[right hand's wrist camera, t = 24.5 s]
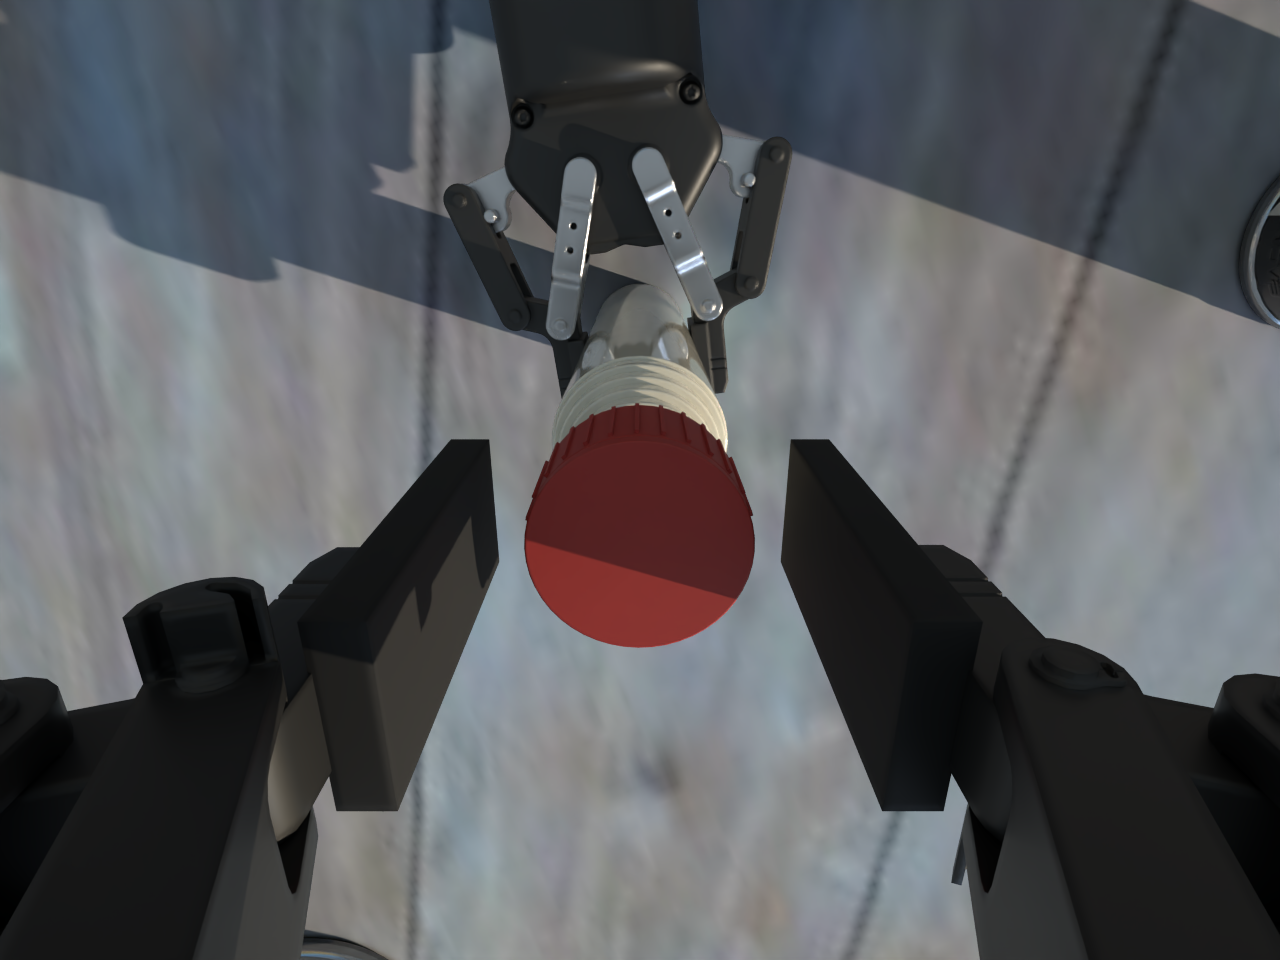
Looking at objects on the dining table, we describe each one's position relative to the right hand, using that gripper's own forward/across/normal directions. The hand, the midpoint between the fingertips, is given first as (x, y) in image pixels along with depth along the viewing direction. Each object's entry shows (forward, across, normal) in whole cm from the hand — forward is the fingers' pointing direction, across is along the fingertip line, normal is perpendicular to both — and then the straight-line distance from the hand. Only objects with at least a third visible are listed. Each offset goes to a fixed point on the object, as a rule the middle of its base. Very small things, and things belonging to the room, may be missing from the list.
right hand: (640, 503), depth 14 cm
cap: (-2, 0, 0) cm, 2 cm away
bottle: (+23, 0, 0) cm, 23 cm away
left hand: (+17, 0, -3) cm, 17 cm away
